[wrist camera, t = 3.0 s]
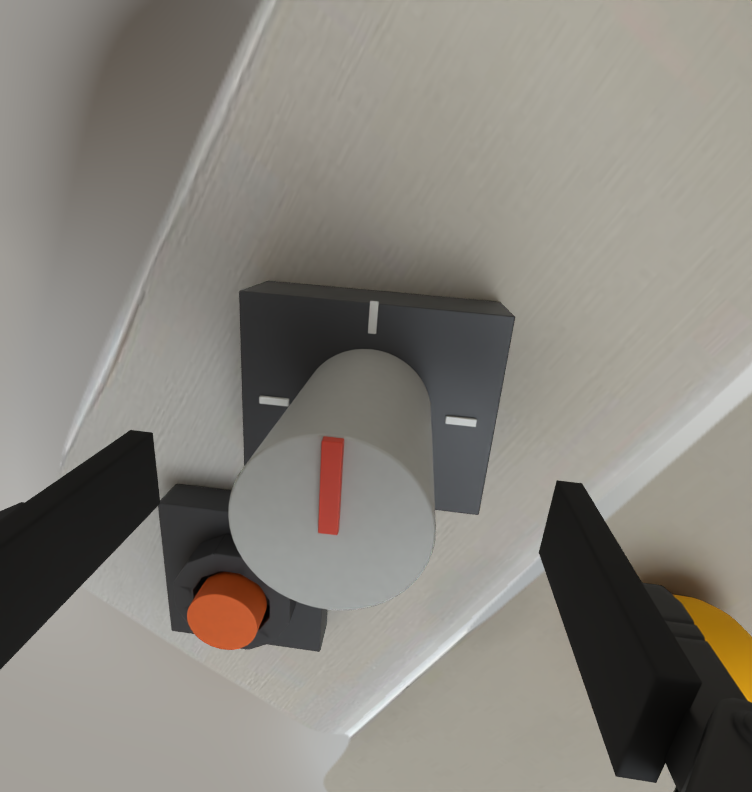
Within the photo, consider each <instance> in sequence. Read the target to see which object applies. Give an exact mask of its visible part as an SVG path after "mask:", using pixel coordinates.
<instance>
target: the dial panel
mask: <svg viewBox="0 0 752 792" xmlns="http://www.w3.org/2000/svg"><path fill="white" fill-rule="evenodd" d="M239 300H240V334H241V368H242V402H243V436H244V466H245V465H246V463H247V462H248V461H249V459H250V458H251V457H252V455H253V454H254V453H255V451H256V450H257V449H258V447H259V446H260V445H261V443H262V442H263V441H264V439H265V438H266V437H267V435H268V434H269V433H270V431H271V430H272V428H273V427H274V426H275V424H276V423H277V422H278V420H279V419H280V418H281V416H282V415H283V414H284V412H285V411H286V410H287V408H288V407H289V406H290V404H291V403H292V402H293V400H294V399H295V398H296V396H297V395H298V394H299V392H300V391H301V390H302V388H303V387H304V386H305V384H306V383H307V382H308V380H309V379H310V378H311V376H312V375H313V374H314V372H315V371H316V370H317V369H318V368H319V367H320V366H321V365H322V364H323V363H324V362H325V361H327V360H328V359H330V358H331V357H333V356H335V355H337V354H340V353H342V352H345V351H350V350H355V349H373V350H379V351H383V352H386V353H389V354H391V355H393V356H396V357H397V358H399V359H401V360H402V361H404V362H405V363H406V364H408V365H409V366H410V367H411V368H412V369H413V370H414V371H415V372H416V373H417V374H418V376H419V377H420V378H421V380H422V382H423V383H424V385H425V387H426V390H427V392H428V395H429V399H430V405H431V424H432V448H433V473H434V497H435V510H442V511H450V512H458V513H467V514H475V515H478V514H479V510H480V504H481V499H482V494H483V488H484V483H485V477H486V472H487V467H488V461H489V456H490V450H491V445H492V440H493V434H494V429H495V423H496V418H497V412H498V407H499V402H500V396H501V391H502V385H503V380H504V375H505V369H506V364H507V358H508V353H509V348H510V342H511V337H512V331H513V326H514V321H515V316H514V315H513V314H512V313H511V312H510V311H509V310H508V309H507V308H506V307H505V306H504V305H503V304H502V303H501V302H496V301H485V300H474V299H463V298H452V297H441V296H430V295H419V294H408V293H397V292H386V291H375V290H364V289H353V288H342V287H331V286H320V285H309V284H298V283H287V282H276V281H266V282H264V283H261V284H258V285H255V286H252V287H249V288H247V289H244V290H241V291H239Z"/></svg>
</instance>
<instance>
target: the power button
mask: <svg viewBox="0 0 752 792" xmlns="http://www.w3.org/2000/svg"><path fill="white" fill-rule="evenodd" d="M266 608H267V600H266V596H265V594H264V592H263V590H262V589H261V588H260V586H259V585H258V584H256V583H255V582H253V581H251V580H250V579H248V578H246V577H244V576H243V575H241V574H238V573H230V572H221V573H217V574H214V575H212V576H210V577H209V578H208V579H206V581H205V582H204V583H203V585H202V586H201V588H200V590H199V591H198V593H197V595H196V596H195V598H194V599H193V601H192V603H191V604H190V606H189V608H188V611H187V620H188V624H189V626H190V628H191V630H192V631H193V633H194V634H195V635H196V636H197V637H198V638H199V639H200V640H202V641H203V642H205V643H206V644H208V645H210V646H213V647H216V648H219V649H226V650H234V649H239V648H242V647H245V646H247V645H248V644H249V643H251V642H252V641H253V639H254V638H255V636H256V634H257V631H258V629H259V626H260V624H261V622H262V619H263V617H264V614H265V612H266Z"/></svg>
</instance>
